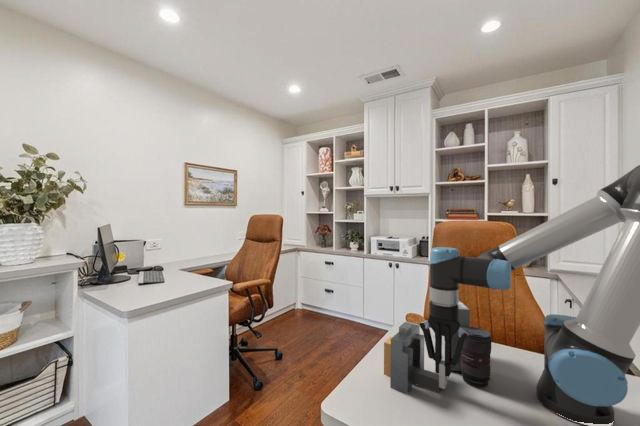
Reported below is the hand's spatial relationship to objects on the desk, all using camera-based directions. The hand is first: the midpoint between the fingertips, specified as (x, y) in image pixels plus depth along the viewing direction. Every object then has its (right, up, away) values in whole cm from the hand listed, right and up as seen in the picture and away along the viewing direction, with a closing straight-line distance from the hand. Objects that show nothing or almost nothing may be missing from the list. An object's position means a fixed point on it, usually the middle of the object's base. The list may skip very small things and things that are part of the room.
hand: (442, 385), depth 79 cm
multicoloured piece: (-7, -2, +5) cm, 9 cm away
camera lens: (+12, -2, +5) cm, 13 cm away
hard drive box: (+10, -2, +17) cm, 20 cm away
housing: (-8, -2, +6) cm, 10 cm away
